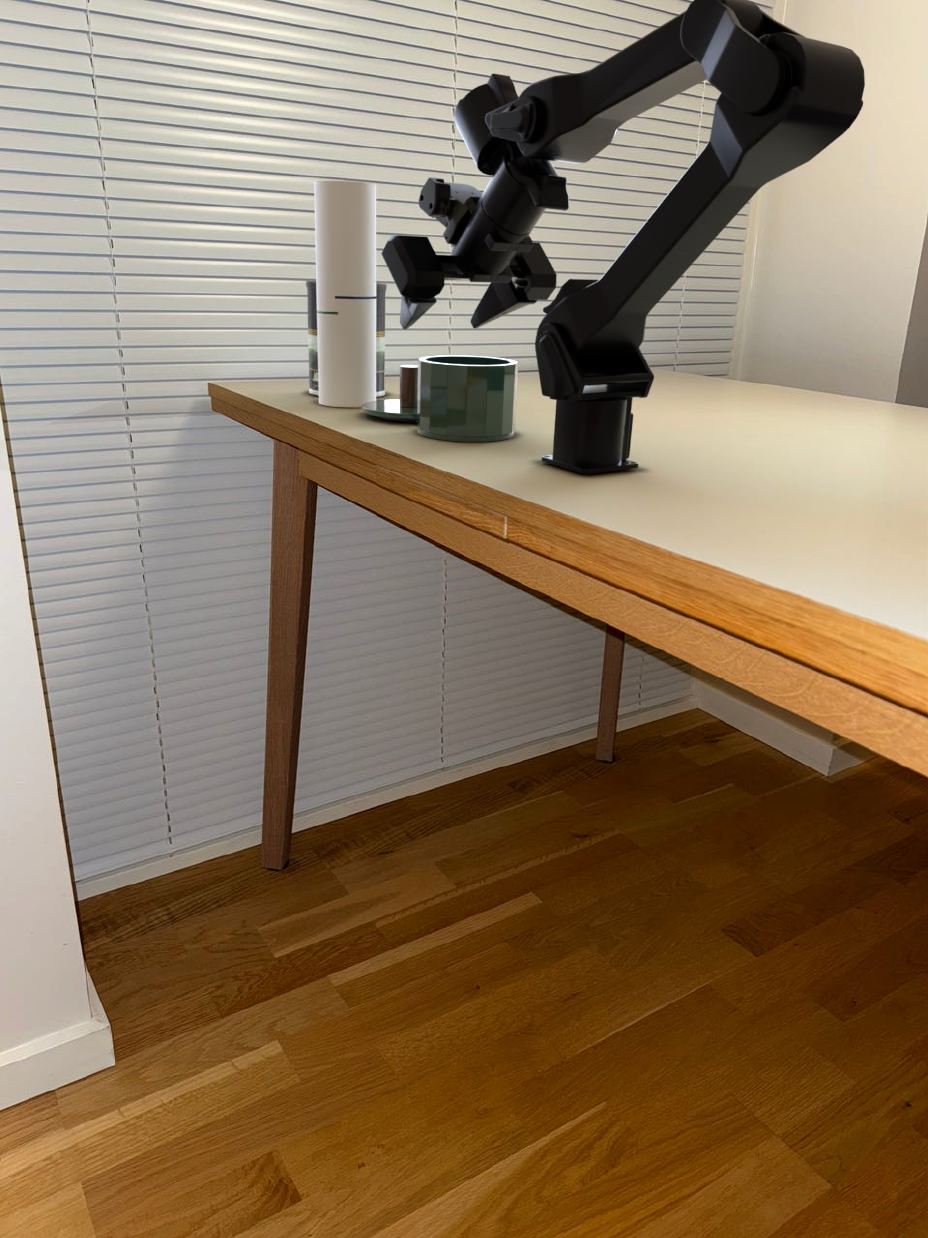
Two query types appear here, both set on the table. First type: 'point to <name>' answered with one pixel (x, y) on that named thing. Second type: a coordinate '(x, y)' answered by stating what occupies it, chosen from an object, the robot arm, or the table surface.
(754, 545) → the table surface
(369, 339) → the cylindrical container
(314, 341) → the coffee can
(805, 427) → the table surface
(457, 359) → the pot
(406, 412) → the lid
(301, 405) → the table surface
